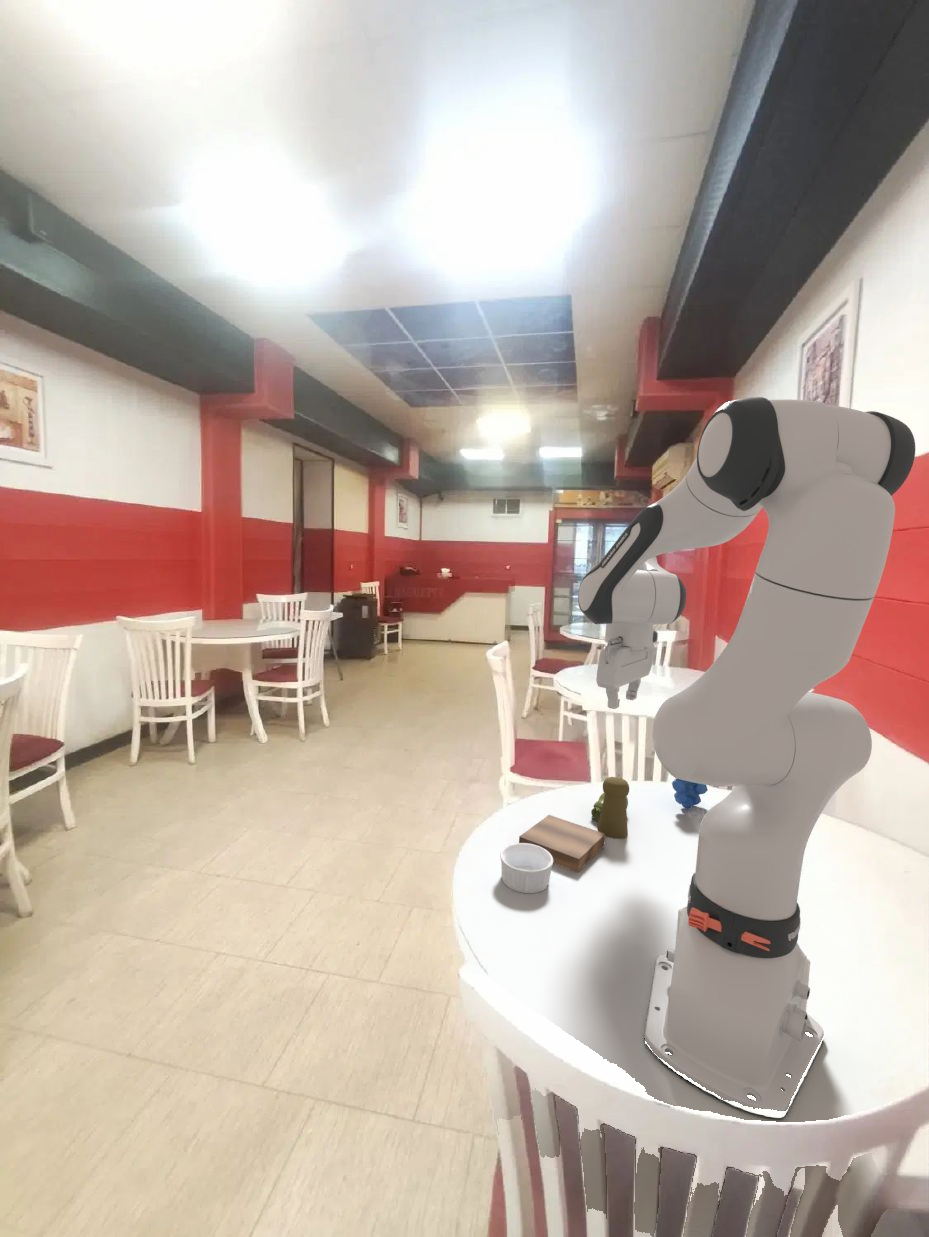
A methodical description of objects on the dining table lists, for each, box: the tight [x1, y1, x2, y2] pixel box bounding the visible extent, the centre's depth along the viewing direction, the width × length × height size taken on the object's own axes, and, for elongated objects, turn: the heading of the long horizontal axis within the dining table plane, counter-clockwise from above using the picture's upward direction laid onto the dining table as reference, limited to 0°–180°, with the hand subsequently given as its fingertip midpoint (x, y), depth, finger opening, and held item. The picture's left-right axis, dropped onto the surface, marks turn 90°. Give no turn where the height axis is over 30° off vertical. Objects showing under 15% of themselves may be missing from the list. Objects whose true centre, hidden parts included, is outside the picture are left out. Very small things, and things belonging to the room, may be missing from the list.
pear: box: [590, 792, 629, 822], centre depth 117 cm, size 6×5×10 cm
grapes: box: [671, 778, 708, 810], centre depth 122 cm, size 12×7×12 cm, turn 126°
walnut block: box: [518, 814, 606, 873], centre depth 103 cm, size 12×12×2 cm
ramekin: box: [499, 842, 554, 894], centre depth 91 cm, size 9×9×4 cm
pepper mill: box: [596, 776, 630, 840], centre depth 110 cm, size 6×6×11 cm
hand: (622, 703), depth 108 cm, fingers open, 8 cm apart
